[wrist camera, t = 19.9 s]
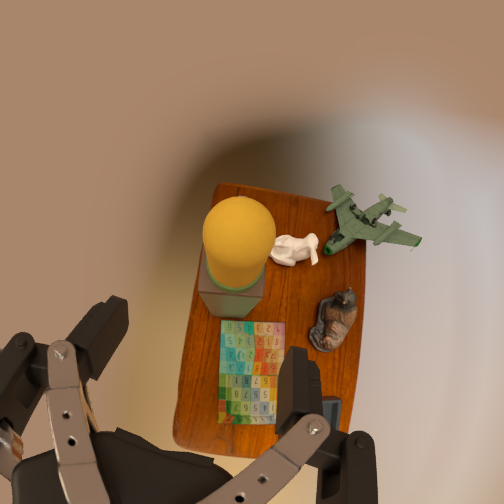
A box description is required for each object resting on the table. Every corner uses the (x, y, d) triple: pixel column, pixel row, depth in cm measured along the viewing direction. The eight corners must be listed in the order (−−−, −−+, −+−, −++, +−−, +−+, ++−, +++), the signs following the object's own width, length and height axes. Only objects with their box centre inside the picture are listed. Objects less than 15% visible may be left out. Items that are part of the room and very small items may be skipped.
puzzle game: (286, 322, 49) (281, 425, 43) (280, 323, 54) (277, 418, 48) (221, 319, 48) (217, 424, 42) (221, 321, 53) (218, 417, 47)
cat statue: (333, 354, 53) (354, 356, 43) (302, 347, 52) (318, 348, 43) (345, 299, 56) (367, 291, 47) (316, 291, 56) (334, 281, 47)
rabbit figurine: (317, 243, 59) (333, 225, 50) (318, 276, 57) (335, 264, 48) (263, 239, 58) (270, 220, 49) (262, 274, 56) (270, 261, 47)
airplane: (319, 240, 53) (319, 269, 61) (429, 254, 46) (416, 282, 53) (331, 171, 67) (330, 200, 74) (416, 181, 59) (409, 210, 67)
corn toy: (204, 291, 24) (190, 257, 14) (210, 239, 26) (202, 176, 16) (260, 295, 25) (285, 265, 15) (262, 243, 26) (286, 184, 16)
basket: (277, 446, 45) (280, 453, 42) (281, 397, 49) (286, 402, 45) (329, 443, 46) (335, 449, 43) (334, 396, 50) (342, 399, 46)
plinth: (212, 316, 53) (197, 291, 24) (215, 286, 55) (205, 229, 26) (243, 319, 53) (263, 296, 25) (245, 289, 55) (267, 235, 27)
